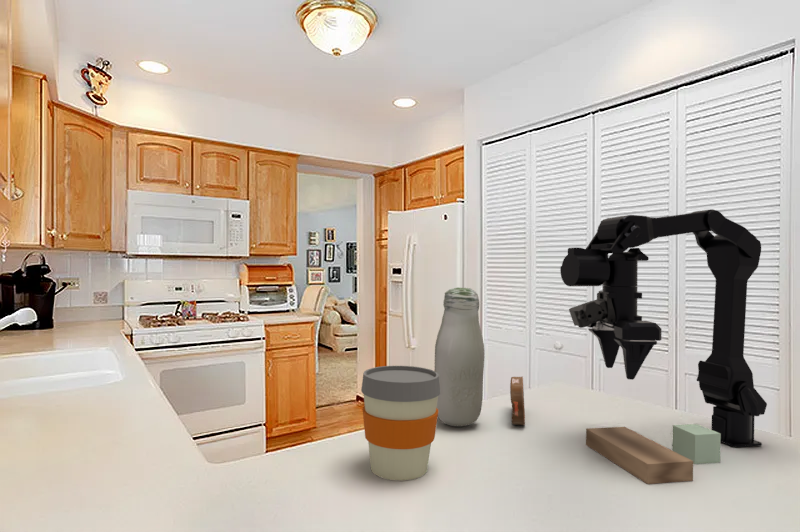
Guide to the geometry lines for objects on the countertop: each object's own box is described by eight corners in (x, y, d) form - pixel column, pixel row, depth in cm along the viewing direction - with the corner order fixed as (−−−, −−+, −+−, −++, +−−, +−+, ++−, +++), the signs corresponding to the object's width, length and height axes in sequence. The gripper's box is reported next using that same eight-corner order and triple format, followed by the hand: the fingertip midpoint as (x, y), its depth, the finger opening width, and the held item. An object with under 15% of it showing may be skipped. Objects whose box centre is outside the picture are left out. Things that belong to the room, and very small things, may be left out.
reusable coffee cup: (425, 492, 67) (427, 386, 67) (345, 477, 72) (347, 377, 72) (447, 459, 79) (449, 369, 79) (378, 448, 83) (380, 362, 84)
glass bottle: (442, 434, 91) (446, 288, 91) (427, 417, 101) (430, 286, 101) (490, 431, 93) (493, 289, 93) (470, 415, 103) (473, 286, 103)
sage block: (696, 451, 86) (696, 423, 86) (720, 463, 81) (720, 433, 81) (672, 453, 85) (672, 425, 85) (694, 464, 80) (695, 434, 80)
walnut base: (624, 442, 89) (624, 426, 89) (692, 480, 73) (693, 461, 73) (585, 444, 87) (586, 428, 87) (647, 484, 72) (647, 464, 72)
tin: (525, 431, 94) (525, 388, 94) (508, 429, 95) (509, 387, 95) (524, 409, 109) (525, 373, 109) (510, 408, 110) (511, 372, 110)
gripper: (559, 283, 95) (558, 362, 95) (592, 288, 76) (591, 385, 76) (616, 284, 95) (615, 362, 95) (663, 288, 76) (662, 386, 76)
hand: (619, 373), depth 85 cm, fingers open, 9 cm apart
